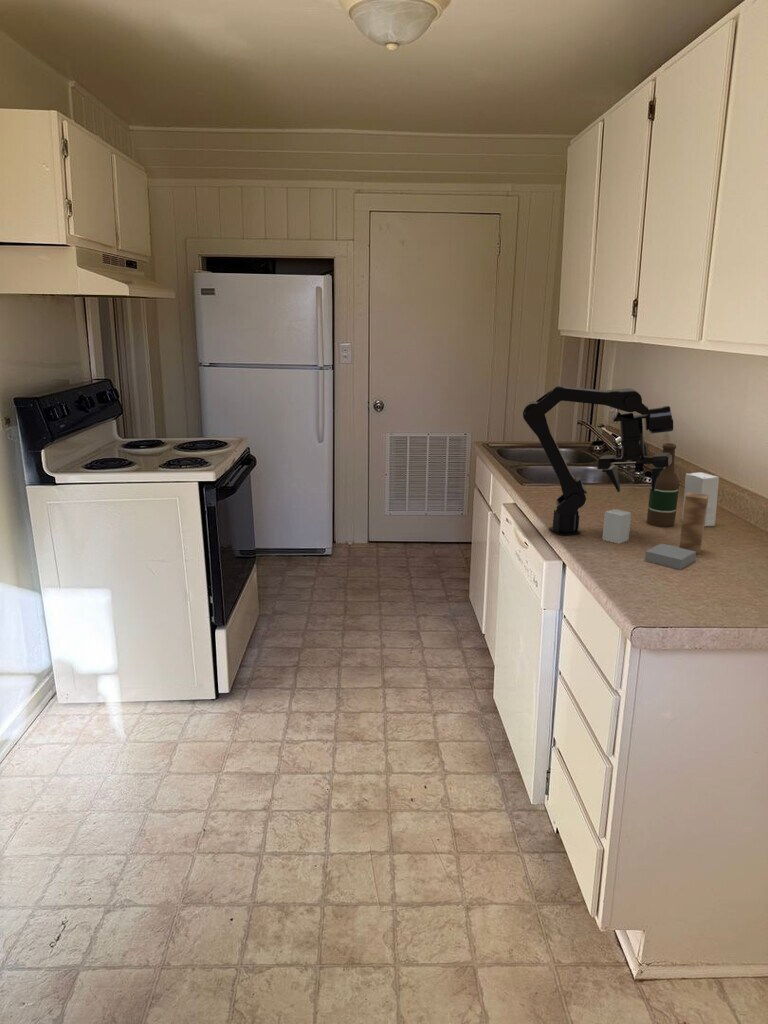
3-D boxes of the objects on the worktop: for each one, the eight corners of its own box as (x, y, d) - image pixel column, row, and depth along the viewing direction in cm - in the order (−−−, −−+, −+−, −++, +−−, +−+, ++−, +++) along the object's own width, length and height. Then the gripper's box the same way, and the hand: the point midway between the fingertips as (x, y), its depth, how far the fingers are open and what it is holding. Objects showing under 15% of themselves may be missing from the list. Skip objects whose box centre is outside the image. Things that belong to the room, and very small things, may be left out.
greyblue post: (618, 544, 191) (621, 515, 189) (602, 539, 195) (604, 511, 193) (628, 540, 194) (631, 512, 192) (612, 536, 198) (615, 508, 196)
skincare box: (715, 526, 208) (721, 477, 204) (696, 527, 207) (703, 478, 203) (697, 518, 216) (703, 471, 212) (679, 519, 215) (685, 471, 211)
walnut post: (678, 551, 185) (685, 496, 181) (681, 546, 189) (688, 492, 185) (699, 554, 183) (706, 498, 179) (701, 549, 187) (708, 494, 183)
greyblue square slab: (644, 562, 178) (645, 551, 177) (660, 554, 184) (661, 543, 183) (679, 571, 172) (681, 559, 171) (694, 562, 178) (696, 551, 177)
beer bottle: (640, 521, 212) (649, 442, 206) (661, 519, 215) (670, 441, 209) (659, 528, 205) (668, 447, 199) (680, 525, 208) (690, 445, 202)
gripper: (674, 428, 192) (677, 483, 196) (605, 432, 202) (609, 485, 206) (666, 435, 183) (669, 493, 187) (594, 440, 193) (598, 495, 197)
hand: (636, 491), depth 195 cm, fingers open, 9 cm apart
